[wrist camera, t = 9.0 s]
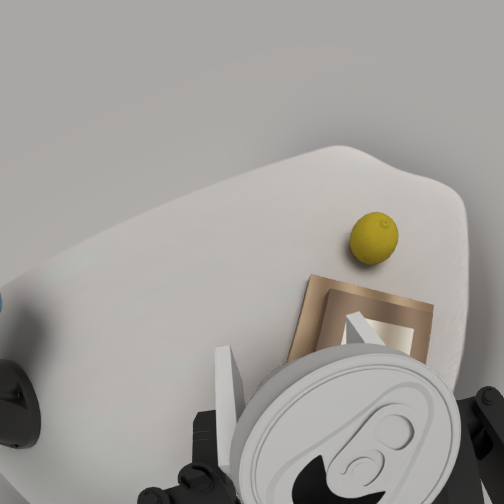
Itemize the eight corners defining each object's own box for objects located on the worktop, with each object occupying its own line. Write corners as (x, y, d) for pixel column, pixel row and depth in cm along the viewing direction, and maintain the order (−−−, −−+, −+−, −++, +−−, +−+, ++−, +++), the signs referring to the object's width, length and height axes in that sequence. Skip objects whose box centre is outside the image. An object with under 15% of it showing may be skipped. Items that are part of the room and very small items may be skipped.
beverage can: (232, 413, 15) (163, 484, 4) (297, 338, 17) (346, 281, 6) (309, 468, 13) (357, 581, 2) (372, 393, 15) (503, 407, 4)
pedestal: (270, 413, 27) (271, 423, 22) (308, 281, 33) (315, 263, 28) (397, 432, 25) (420, 442, 19) (424, 309, 30) (447, 298, 25)
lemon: (381, 277, 32) (408, 252, 25) (340, 267, 33) (359, 239, 26) (384, 238, 35) (408, 207, 27) (345, 228, 35) (362, 194, 28)
